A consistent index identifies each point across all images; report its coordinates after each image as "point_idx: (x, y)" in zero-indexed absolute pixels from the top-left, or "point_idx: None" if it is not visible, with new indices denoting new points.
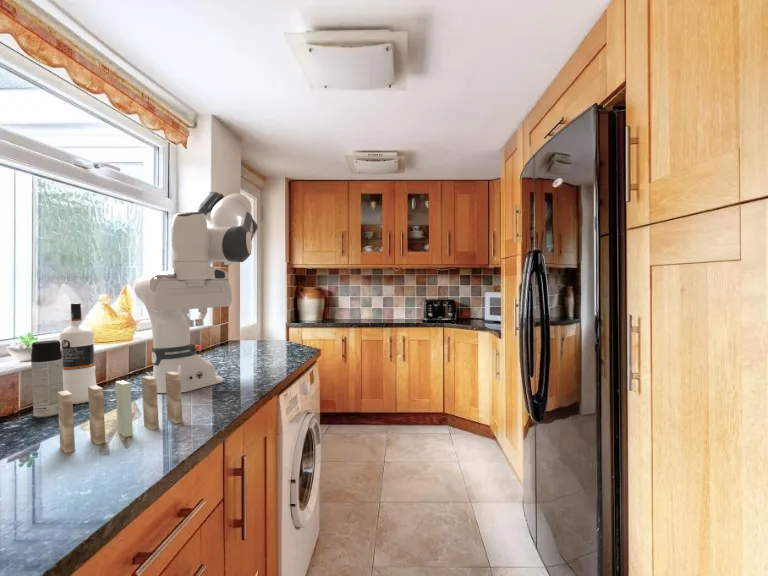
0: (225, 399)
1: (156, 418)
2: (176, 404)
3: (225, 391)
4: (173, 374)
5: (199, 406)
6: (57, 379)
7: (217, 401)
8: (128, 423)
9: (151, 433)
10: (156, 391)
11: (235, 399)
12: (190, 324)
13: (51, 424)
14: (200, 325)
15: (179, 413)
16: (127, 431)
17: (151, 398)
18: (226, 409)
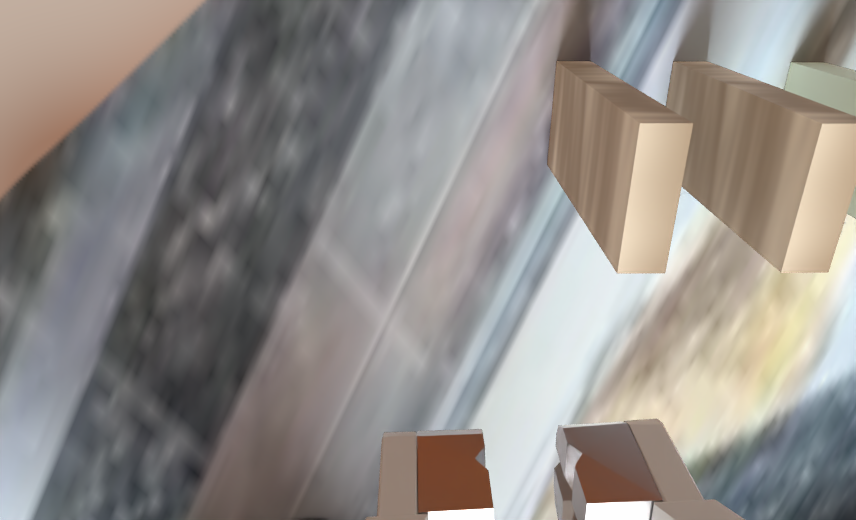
0: (226, 261)
1: (703, 70)
2: (611, 78)
3: (167, 398)
4: (679, 146)
5: (376, 251)
6: None
7: (273, 260)
8: (844, 73)
9: (735, 6)
10: (772, 101)
11: (185, 216)
12: (632, 439)
13: (842, 483)
14: (436, 430)
15: (581, 68)
16: (827, 66)
17: (785, 92)
18: (302, 71)
